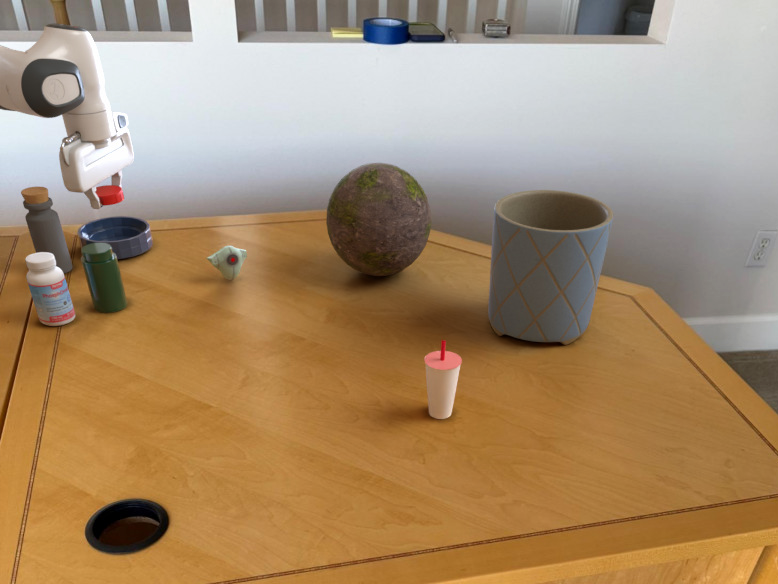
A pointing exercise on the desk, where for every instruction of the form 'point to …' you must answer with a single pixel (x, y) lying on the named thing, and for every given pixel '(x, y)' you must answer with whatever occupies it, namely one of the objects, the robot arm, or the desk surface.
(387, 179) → the decorative stone
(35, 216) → the bottle
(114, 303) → the green jar
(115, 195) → the cap
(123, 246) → the bowl
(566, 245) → the planter
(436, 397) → the cup
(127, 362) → the desk surface
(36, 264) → the pill bottle
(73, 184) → the robot arm
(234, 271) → the robot head
